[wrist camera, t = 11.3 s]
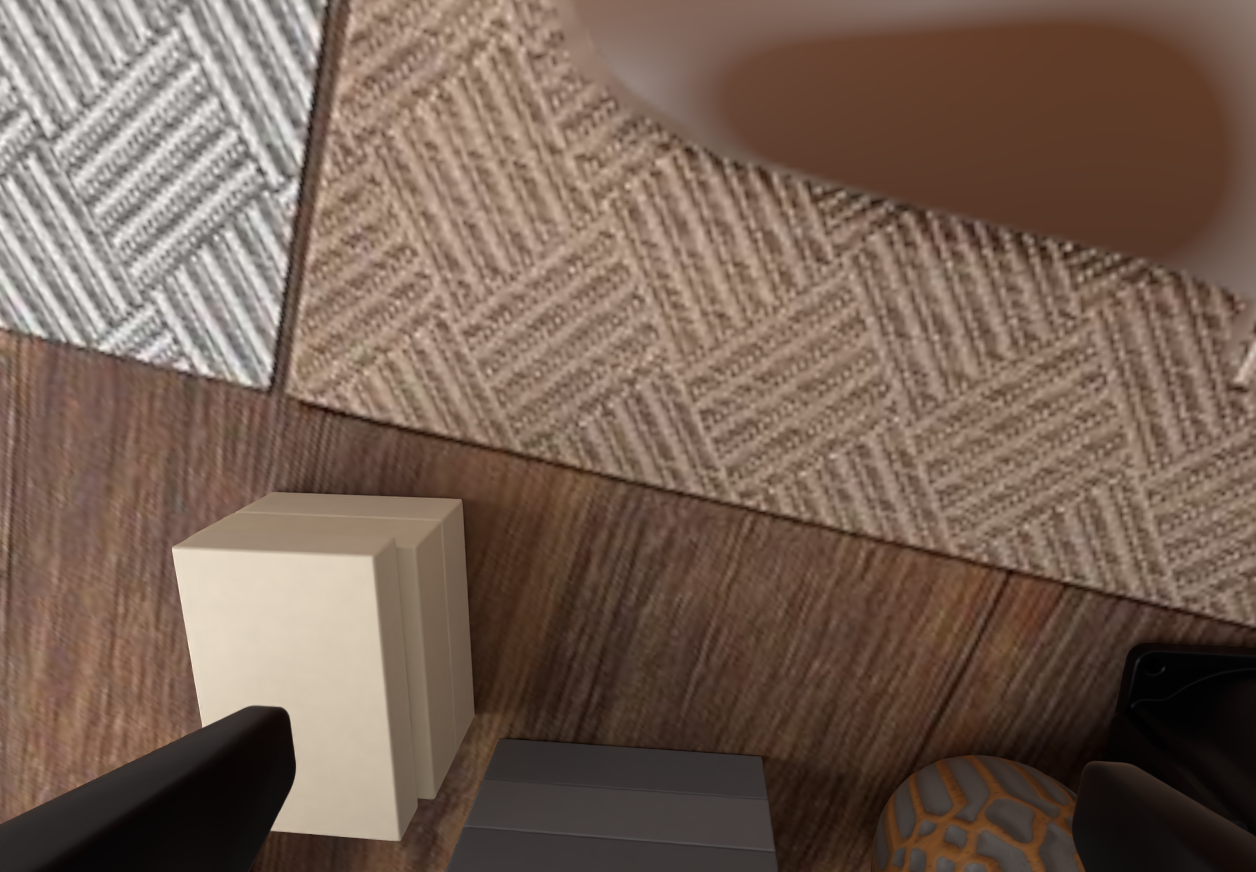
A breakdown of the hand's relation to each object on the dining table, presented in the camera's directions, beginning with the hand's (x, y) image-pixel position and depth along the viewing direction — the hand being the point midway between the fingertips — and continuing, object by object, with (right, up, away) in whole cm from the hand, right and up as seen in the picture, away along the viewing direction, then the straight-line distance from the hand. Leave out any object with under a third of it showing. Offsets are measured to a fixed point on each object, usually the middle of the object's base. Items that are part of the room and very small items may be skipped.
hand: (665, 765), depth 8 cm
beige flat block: (-9, -3, +10) cm, 14 cm away
